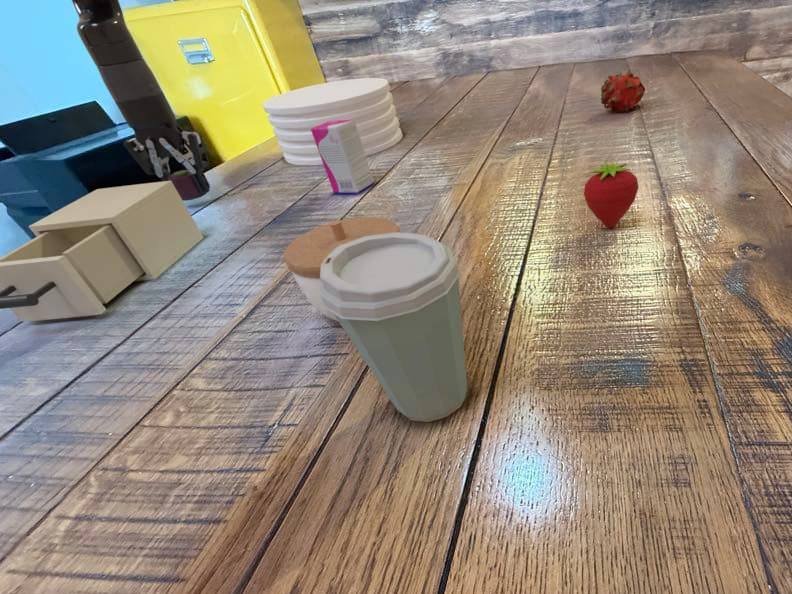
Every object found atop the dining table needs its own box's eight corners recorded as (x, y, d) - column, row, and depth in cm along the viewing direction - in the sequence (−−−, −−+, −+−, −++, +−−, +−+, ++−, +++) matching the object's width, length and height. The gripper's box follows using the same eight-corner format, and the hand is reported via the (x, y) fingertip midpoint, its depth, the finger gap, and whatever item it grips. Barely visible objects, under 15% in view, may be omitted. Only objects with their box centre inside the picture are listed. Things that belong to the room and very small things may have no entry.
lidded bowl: (311, 304, 65) (272, 219, 58) (407, 275, 68) (381, 191, 61) (322, 354, 56) (277, 261, 49) (432, 318, 59) (405, 226, 52)
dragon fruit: (596, 123, 119) (639, 120, 124) (614, 103, 112) (659, 101, 116) (588, 86, 119) (631, 85, 123) (606, 63, 111) (651, 62, 115)
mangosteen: (174, 201, 97) (160, 178, 94) (187, 192, 101) (175, 169, 98) (198, 199, 97) (185, 175, 94) (211, 190, 101) (199, 166, 98)
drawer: (76, 334, 64) (28, 278, 58) (-7, 342, 65) (-62, 287, 59) (158, 266, 77) (125, 216, 72) (89, 273, 78) (51, 224, 73)
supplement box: (376, 184, 98) (355, 118, 91) (358, 196, 94) (335, 127, 87) (351, 184, 100) (329, 119, 93) (333, 195, 96) (308, 128, 89)
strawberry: (645, 229, 71) (647, 152, 64) (594, 241, 69) (591, 164, 63) (627, 215, 75) (628, 141, 68) (579, 226, 74) (575, 152, 67)
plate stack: (300, 175, 109) (276, 114, 101) (274, 150, 127) (252, 98, 119) (420, 141, 118) (406, 84, 111) (379, 123, 137) (365, 73, 129)
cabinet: (155, 280, 76) (112, 217, 69) (77, 288, 77) (28, 226, 70) (204, 238, 87) (171, 180, 80) (135, 246, 88) (97, 189, 81)
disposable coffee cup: (492, 362, 51) (460, 216, 41) (486, 439, 43) (445, 280, 33) (389, 373, 52) (334, 231, 42) (364, 450, 44) (289, 298, 34)
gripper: (188, 84, 90) (236, 183, 101) (112, 93, 91) (168, 191, 102) (164, 93, 84) (217, 197, 95) (83, 103, 85) (146, 205, 97)
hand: (191, 193), depth 99 cm, fingers closed on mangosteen, 5 cm apart
